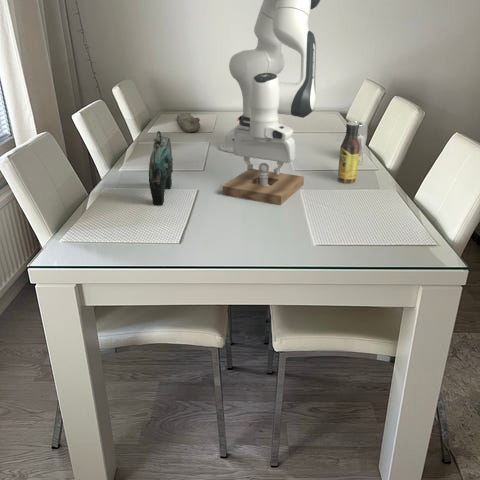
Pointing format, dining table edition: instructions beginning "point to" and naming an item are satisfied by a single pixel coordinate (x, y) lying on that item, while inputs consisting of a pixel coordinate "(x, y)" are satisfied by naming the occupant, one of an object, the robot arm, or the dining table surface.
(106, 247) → the dining table surface
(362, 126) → the beer glass
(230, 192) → the walnut board
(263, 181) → the chess piece
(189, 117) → the long grey stone
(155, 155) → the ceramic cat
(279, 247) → the dining table surface
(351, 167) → the sauce bottle
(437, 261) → the dining table surface
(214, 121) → the dining table surface
